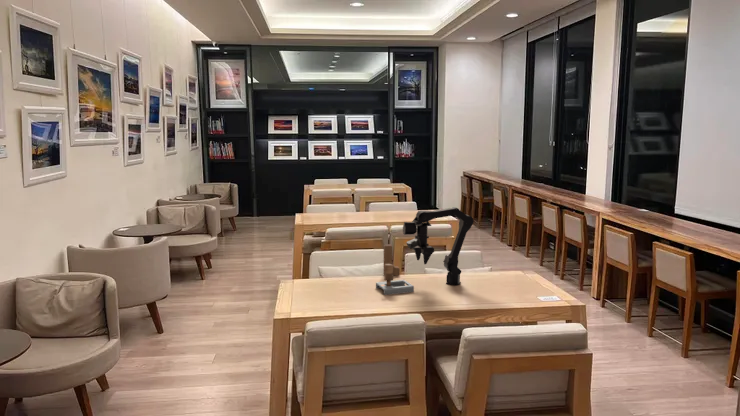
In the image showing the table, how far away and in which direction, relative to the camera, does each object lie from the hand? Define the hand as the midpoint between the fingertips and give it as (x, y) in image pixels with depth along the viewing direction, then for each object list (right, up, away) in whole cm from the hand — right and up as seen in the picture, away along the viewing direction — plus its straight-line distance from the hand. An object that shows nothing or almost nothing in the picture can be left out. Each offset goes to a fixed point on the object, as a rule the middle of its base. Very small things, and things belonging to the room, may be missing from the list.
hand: (421, 262), depth 294 cm
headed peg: (-18, -14, -8) cm, 24 cm away
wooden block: (-16, -10, +23) cm, 29 cm away
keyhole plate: (-15, -14, -6) cm, 22 cm away
